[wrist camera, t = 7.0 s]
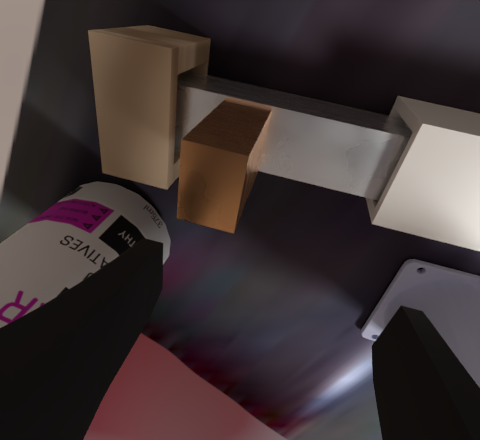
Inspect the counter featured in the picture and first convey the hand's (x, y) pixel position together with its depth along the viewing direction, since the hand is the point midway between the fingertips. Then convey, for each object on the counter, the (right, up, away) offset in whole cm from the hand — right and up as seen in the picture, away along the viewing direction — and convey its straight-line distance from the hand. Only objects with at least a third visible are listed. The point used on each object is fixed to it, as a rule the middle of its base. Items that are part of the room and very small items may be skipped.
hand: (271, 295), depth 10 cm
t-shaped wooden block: (+2, +8, +7) cm, 11 cm away
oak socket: (-5, +9, +8) cm, 13 cm away
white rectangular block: (+10, +6, +7) cm, 13 cm away
